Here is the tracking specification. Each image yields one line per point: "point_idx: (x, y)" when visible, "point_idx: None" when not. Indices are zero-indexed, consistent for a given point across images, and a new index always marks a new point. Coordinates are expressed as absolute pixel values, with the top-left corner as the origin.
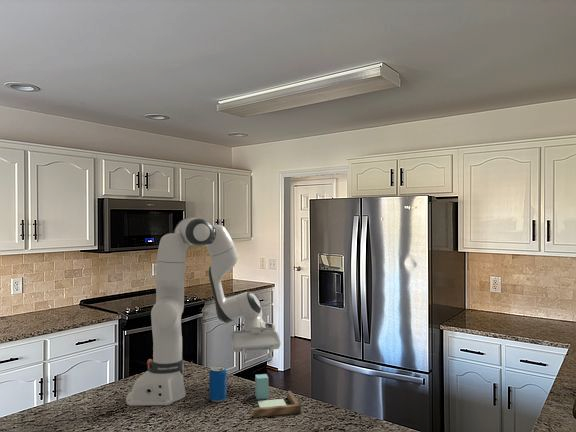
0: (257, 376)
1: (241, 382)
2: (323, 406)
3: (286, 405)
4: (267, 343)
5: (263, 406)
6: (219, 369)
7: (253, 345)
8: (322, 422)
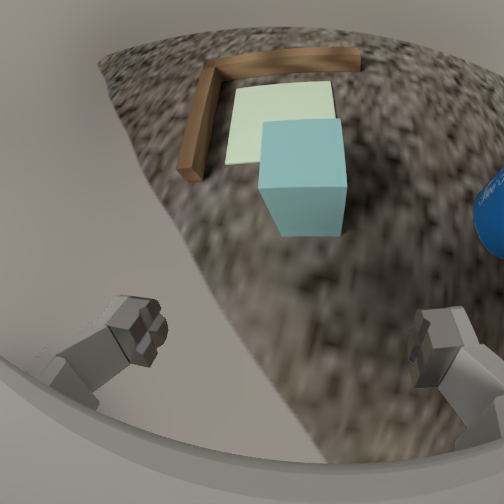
0: (334, 152)
1: (371, 442)
2: (138, 112)
3: (245, 60)
4: (24, 412)
5: (320, 110)
6: None
7: (334, 492)
8: (190, 45)
